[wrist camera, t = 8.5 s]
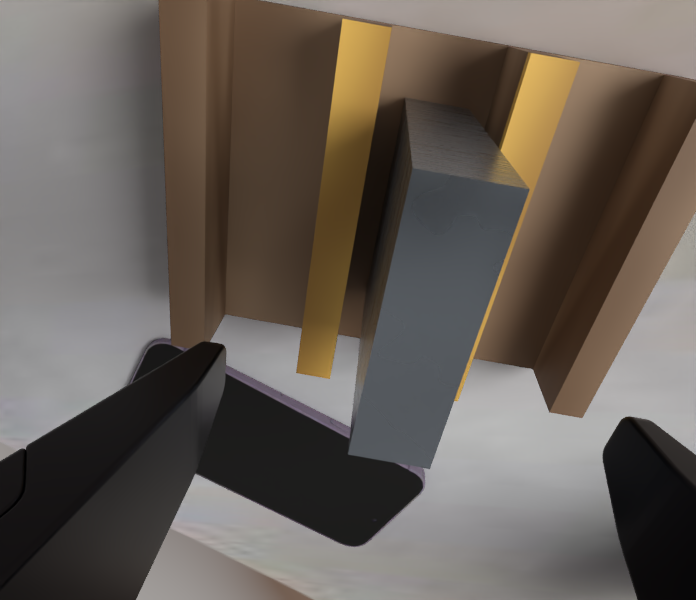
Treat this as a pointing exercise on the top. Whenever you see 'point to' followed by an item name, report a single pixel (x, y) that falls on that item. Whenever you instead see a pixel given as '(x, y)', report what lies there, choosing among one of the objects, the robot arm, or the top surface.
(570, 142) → the rack
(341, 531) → the smartphone
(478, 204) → the block
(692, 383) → the top surface
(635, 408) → the top surface
